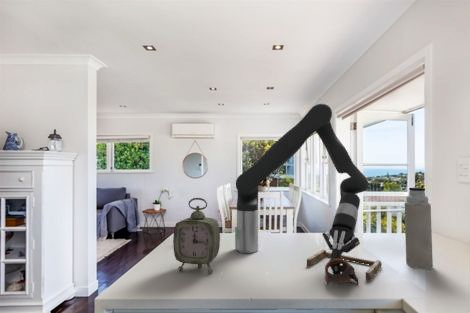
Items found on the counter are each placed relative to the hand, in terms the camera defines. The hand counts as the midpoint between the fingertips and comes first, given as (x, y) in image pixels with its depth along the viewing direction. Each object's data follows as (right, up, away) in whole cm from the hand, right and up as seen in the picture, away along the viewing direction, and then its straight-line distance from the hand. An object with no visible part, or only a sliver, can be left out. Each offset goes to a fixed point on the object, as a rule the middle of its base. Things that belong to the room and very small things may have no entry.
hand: (334, 261), depth 90 cm
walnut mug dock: (+6, -5, +7) cm, 10 cm away
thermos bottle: (+34, -5, +8) cm, 35 cm away
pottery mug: (-1, -4, -6) cm, 8 cm away
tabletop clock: (-46, -5, +5) cm, 46 cm away
